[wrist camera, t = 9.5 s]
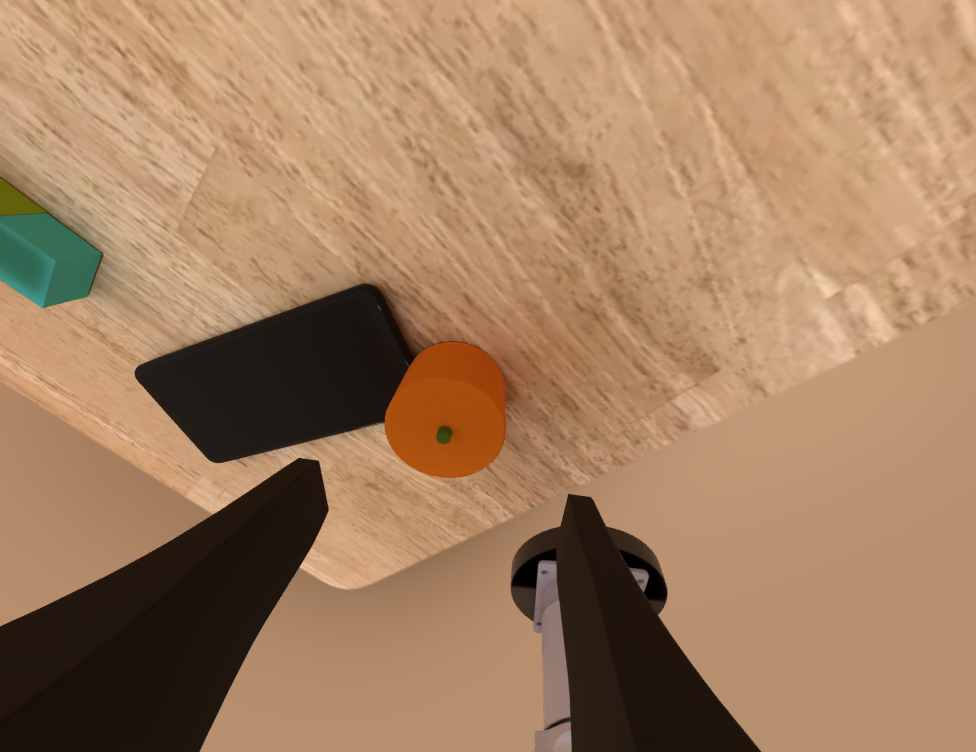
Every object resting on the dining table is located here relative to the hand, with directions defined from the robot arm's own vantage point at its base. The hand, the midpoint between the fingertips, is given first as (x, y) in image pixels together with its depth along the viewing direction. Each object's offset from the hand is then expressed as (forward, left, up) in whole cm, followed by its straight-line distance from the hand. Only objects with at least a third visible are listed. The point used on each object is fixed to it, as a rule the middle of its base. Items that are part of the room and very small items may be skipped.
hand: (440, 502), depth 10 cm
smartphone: (-1, +10, -8) cm, 13 cm away
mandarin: (-1, +1, -8) cm, 8 cm away
